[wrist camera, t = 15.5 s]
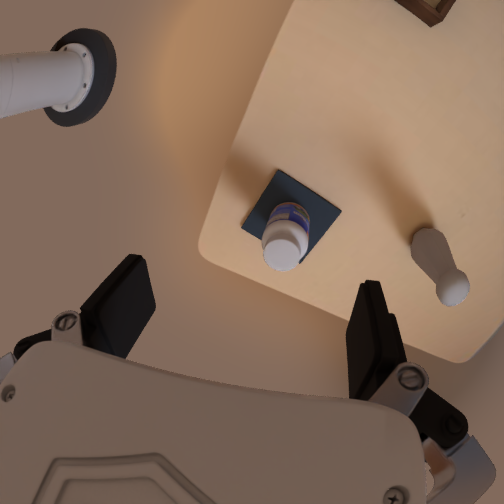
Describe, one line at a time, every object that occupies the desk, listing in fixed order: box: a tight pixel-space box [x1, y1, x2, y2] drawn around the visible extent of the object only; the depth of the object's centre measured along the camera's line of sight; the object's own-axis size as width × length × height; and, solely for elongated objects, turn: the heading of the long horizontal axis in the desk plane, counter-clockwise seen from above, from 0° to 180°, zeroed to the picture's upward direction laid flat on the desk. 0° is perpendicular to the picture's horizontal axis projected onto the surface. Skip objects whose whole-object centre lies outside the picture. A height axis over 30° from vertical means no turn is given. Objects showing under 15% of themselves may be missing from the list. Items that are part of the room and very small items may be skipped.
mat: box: [241, 170, 341, 264], centre depth 39 cm, size 10×10×1 cm
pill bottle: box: [262, 202, 310, 271], centre depth 34 cm, size 5×5×10 cm
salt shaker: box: [411, 228, 470, 306], centre depth 31 cm, size 6×6×13 cm
